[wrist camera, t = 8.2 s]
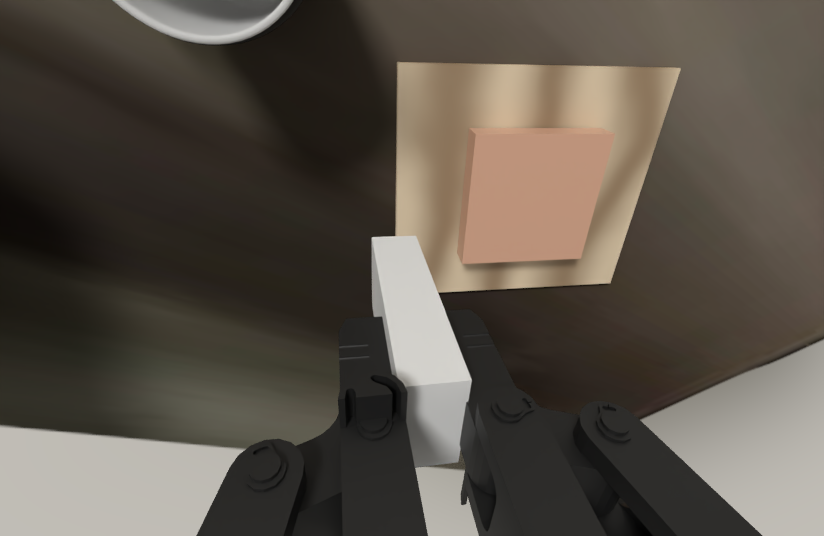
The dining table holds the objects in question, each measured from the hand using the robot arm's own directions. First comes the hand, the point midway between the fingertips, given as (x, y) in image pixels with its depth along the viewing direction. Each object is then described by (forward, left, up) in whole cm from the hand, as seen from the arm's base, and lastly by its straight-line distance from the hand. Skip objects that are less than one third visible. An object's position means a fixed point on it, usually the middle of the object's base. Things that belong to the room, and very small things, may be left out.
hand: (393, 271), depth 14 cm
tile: (+7, -4, -16) cm, 18 cm away
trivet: (+12, -4, -18) cm, 22 cm away
